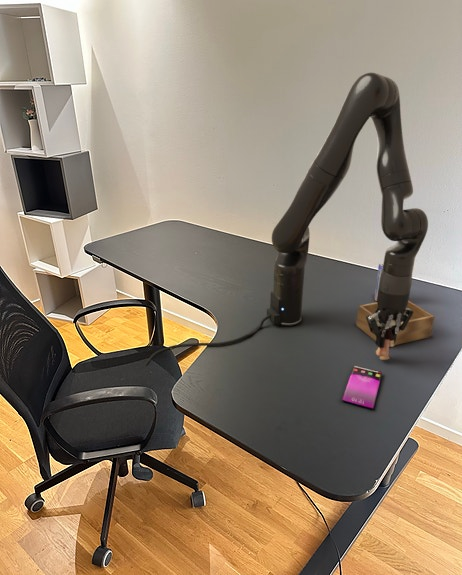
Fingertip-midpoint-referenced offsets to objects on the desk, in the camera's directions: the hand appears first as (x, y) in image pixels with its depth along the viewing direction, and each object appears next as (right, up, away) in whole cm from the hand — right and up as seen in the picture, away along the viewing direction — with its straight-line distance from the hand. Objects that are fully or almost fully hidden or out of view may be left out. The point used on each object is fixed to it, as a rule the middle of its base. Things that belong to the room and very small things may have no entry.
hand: (384, 345), depth 118 cm
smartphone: (-9, -10, -8) cm, 15 cm away
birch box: (+8, +2, +16) cm, 18 cm away
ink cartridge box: (+14, +11, +36) cm, 40 cm away
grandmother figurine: (0, -3, +2) cm, 4 cm away
